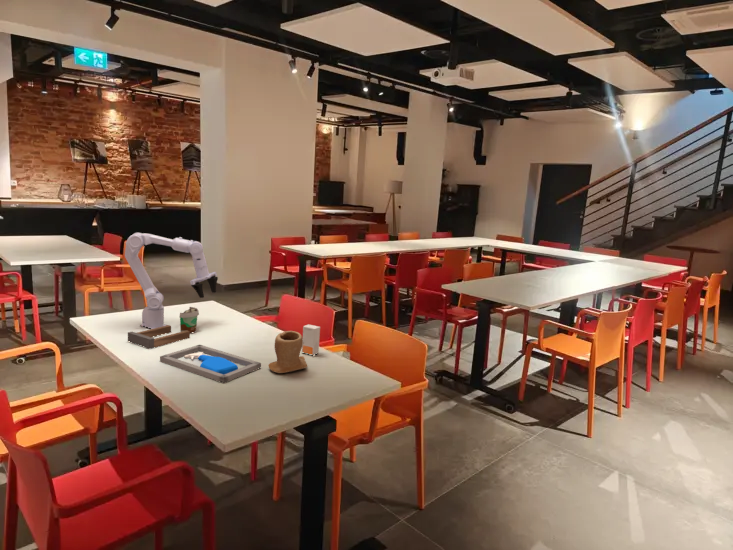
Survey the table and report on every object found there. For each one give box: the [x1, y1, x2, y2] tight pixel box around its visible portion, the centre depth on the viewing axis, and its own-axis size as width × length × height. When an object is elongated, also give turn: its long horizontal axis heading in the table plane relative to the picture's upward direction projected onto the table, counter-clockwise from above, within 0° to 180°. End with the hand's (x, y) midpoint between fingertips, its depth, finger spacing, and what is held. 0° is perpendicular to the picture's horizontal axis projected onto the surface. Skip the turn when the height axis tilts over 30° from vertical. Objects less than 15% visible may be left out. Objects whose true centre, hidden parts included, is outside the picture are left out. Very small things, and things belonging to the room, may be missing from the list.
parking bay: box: [136, 324, 191, 348], centre depth 209 cm, size 14×18×3 cm
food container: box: [179, 306, 200, 334], centre depth 222 cm, size 12×6×10 cm, turn 179°
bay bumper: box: [127, 331, 155, 349], centre depth 200 cm, size 14×2×4 cm, turn 61°
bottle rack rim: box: [159, 344, 262, 384], centre depth 184 cm, size 33×19×2 cm, turn 61°
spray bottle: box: [183, 352, 239, 375], centre depth 184 cm, size 3×11×24 cm
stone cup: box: [268, 330, 309, 374], centre depth 184 cm, size 15×12×15 cm
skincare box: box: [301, 323, 321, 355], centre depth 204 cm, size 6×4×12 cm
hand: (208, 294), depth 230 cm, fingers open, 7 cm apart
